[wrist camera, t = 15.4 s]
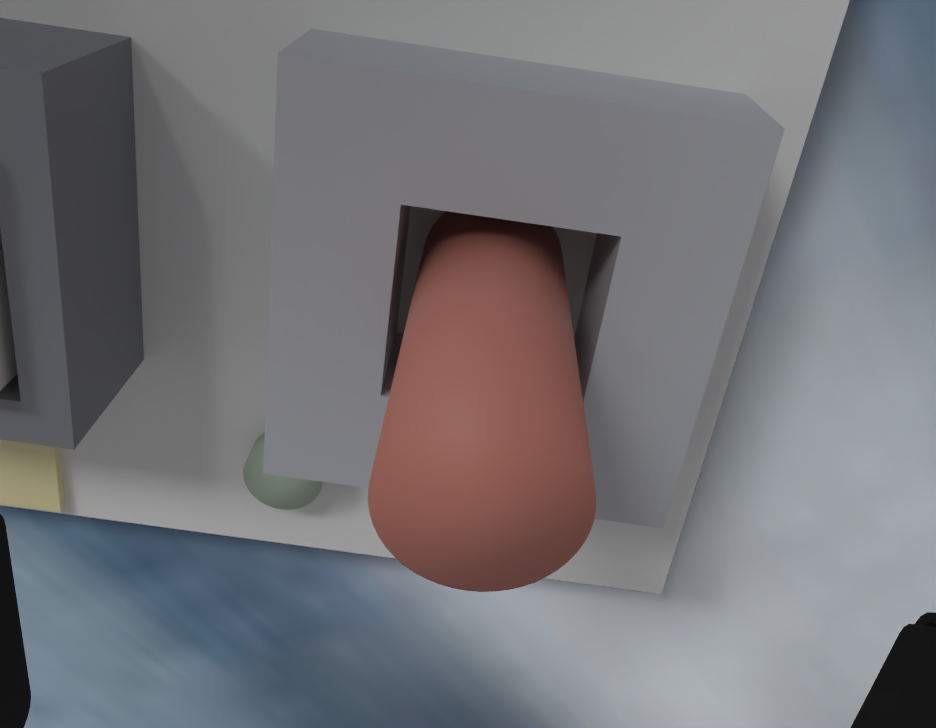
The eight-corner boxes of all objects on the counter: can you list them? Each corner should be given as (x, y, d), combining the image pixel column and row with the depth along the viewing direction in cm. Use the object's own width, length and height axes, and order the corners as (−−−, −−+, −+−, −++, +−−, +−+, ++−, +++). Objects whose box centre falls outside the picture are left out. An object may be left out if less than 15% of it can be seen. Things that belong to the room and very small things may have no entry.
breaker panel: (-344, -332, 17) (-715, -426, 12) (857, -141, 18) (1000, -152, 13) (-163, 436, 26) (-335, 577, 21) (651, 547, 27) (686, 711, 21)
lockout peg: (431, 184, 20) (378, 391, 12) (575, 206, 20) (619, 425, 12) (415, 315, 21) (359, 576, 13) (548, 334, 21) (571, 604, 13)
